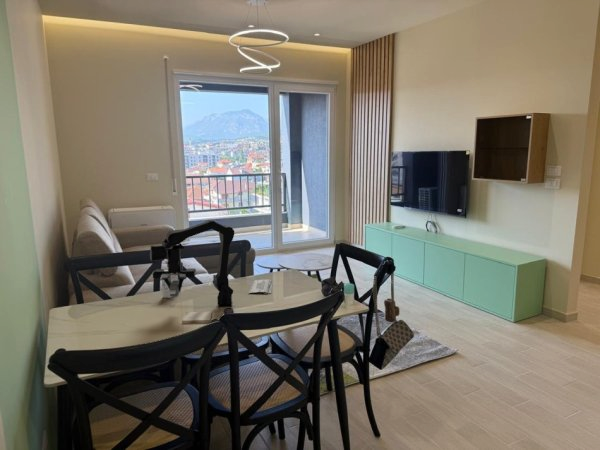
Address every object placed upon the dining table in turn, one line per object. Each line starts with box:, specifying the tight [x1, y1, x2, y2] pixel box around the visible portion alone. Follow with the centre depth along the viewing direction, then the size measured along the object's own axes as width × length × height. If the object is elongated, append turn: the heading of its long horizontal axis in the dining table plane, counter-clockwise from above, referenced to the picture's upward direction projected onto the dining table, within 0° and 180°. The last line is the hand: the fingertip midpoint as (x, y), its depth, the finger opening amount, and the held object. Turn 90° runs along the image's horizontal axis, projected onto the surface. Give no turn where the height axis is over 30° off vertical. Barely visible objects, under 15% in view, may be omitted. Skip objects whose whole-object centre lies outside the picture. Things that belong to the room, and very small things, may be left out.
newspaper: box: [248, 279, 273, 295], centre depth 234 cm, size 23×12×2 cm, turn 179°
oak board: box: [181, 311, 213, 324], centre depth 189 cm, size 12×10×1 cm
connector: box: [170, 279, 182, 298], centre depth 193 cm, size 4×12×5 cm, turn 5°
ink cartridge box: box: [161, 275, 179, 299], centre depth 219 cm, size 9×5×15 cm, turn 168°
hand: (175, 291), depth 194 cm, fingers closed on connector, 4 cm apart
